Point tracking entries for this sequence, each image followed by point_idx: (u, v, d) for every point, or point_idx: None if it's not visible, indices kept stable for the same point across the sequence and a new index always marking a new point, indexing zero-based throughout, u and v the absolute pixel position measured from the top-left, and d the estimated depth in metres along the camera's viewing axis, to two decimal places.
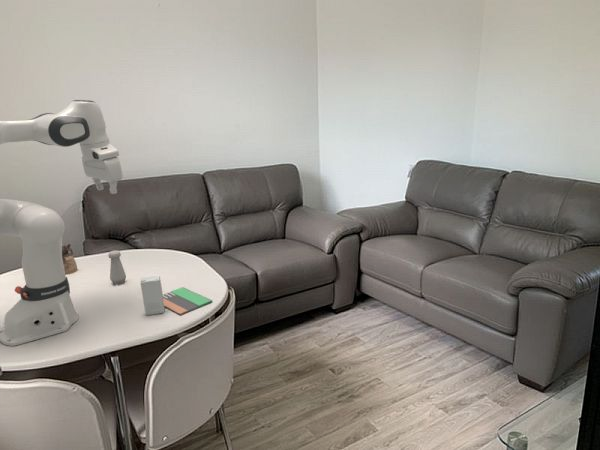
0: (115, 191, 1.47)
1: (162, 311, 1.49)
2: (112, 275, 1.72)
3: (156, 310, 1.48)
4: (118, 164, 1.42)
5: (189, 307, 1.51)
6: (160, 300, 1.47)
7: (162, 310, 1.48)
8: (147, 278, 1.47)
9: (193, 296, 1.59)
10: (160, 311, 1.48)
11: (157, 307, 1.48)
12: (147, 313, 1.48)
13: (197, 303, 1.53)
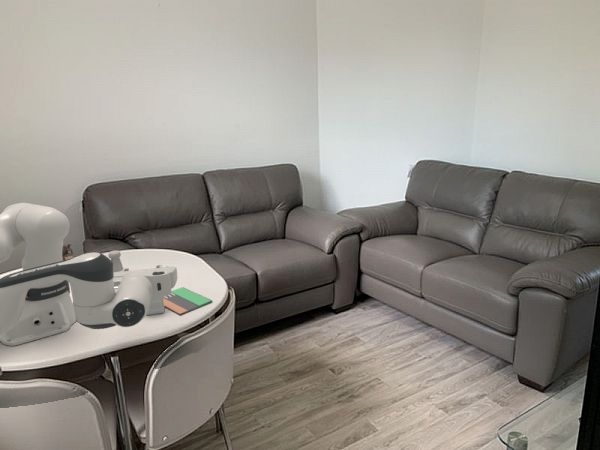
0: (161, 267, 1.33)
1: (162, 311, 1.49)
2: None
3: (156, 310, 1.48)
4: (174, 272, 1.25)
5: (189, 307, 1.51)
6: (160, 300, 1.47)
7: (162, 310, 1.48)
8: None
9: (193, 296, 1.59)
10: (160, 311, 1.48)
11: (157, 307, 1.48)
12: (147, 313, 1.48)
13: (197, 303, 1.53)
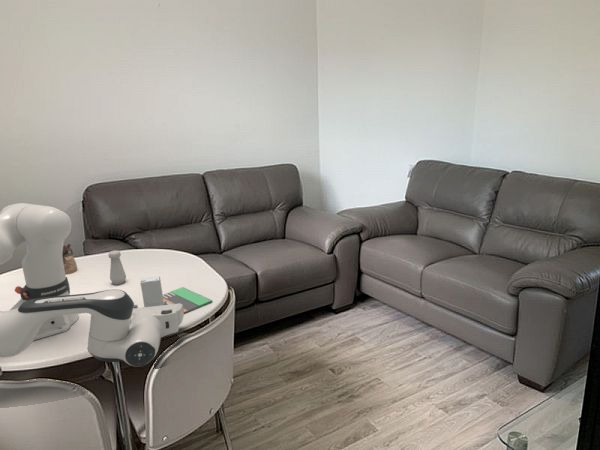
0: (168, 303, 1.41)
1: None
2: (112, 275, 1.72)
3: None
4: (180, 310, 1.33)
5: (189, 307, 1.51)
6: (160, 300, 1.47)
7: None
8: (147, 278, 1.47)
9: (193, 296, 1.59)
10: None
11: None
12: None
13: (197, 303, 1.53)
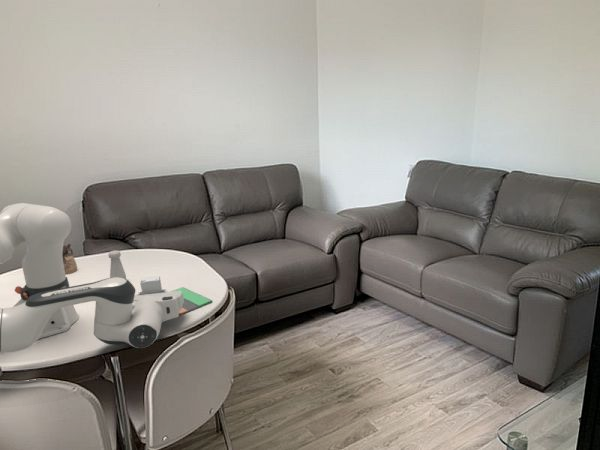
0: (166, 290, 1.49)
1: None
2: (112, 275, 1.72)
3: None
4: (180, 297, 1.41)
5: (189, 307, 1.51)
6: None
7: None
8: (147, 278, 1.47)
9: (193, 296, 1.59)
10: None
11: None
12: None
13: (197, 303, 1.53)
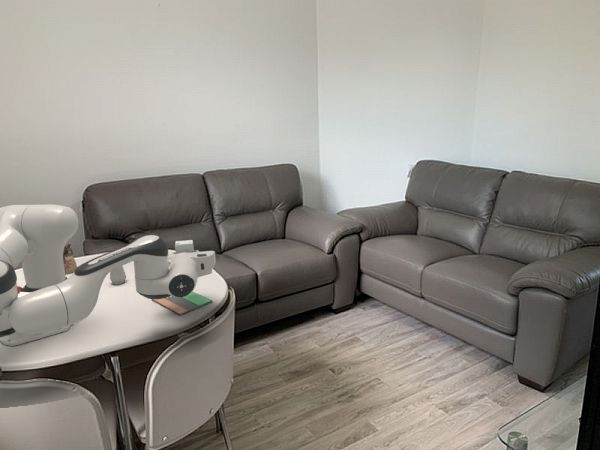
0: (198, 251, 1.55)
1: None
2: (112, 275, 1.72)
3: None
4: (213, 255, 1.47)
5: (189, 307, 1.51)
6: None
7: None
8: (181, 241, 1.53)
9: (193, 296, 1.59)
10: None
11: None
12: None
13: (197, 303, 1.53)
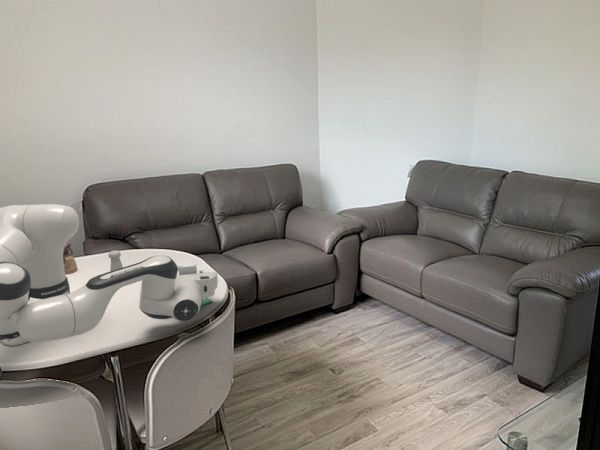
0: (203, 272, 1.59)
1: None
2: None
3: None
4: (216, 277, 1.50)
5: None
6: None
7: None
8: (184, 264, 1.56)
9: None
10: None
11: None
12: None
13: None
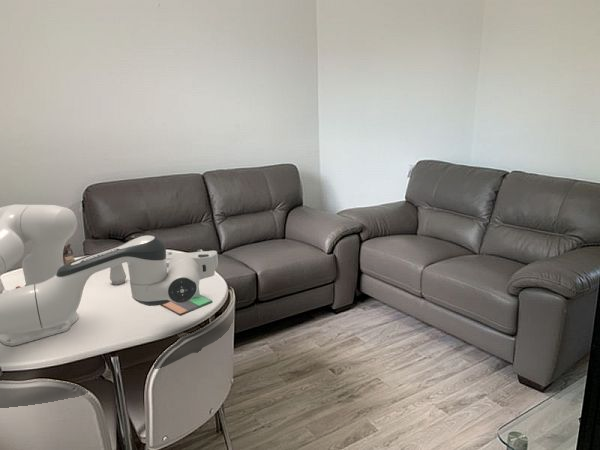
0: (202, 251, 1.43)
1: (198, 295, 1.58)
2: (112, 275, 1.72)
3: None
4: (216, 256, 1.35)
5: (189, 307, 1.51)
6: None
7: (198, 294, 1.58)
8: None
9: None
10: (196, 295, 1.58)
11: None
12: None
13: (197, 303, 1.53)
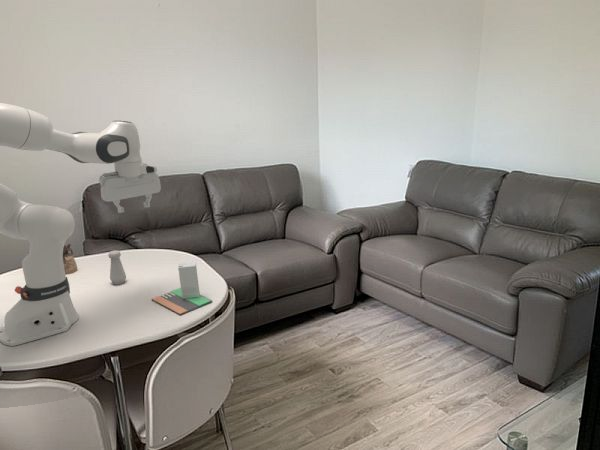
0: None
1: (198, 295, 1.58)
2: (112, 275, 1.72)
3: (192, 294, 1.57)
4: None
5: (189, 307, 1.51)
6: (196, 285, 1.57)
7: (198, 294, 1.58)
8: (184, 264, 1.56)
9: None
10: (196, 295, 1.58)
11: (193, 291, 1.57)
12: (184, 297, 1.57)
13: (197, 303, 1.53)
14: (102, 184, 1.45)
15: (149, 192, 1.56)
